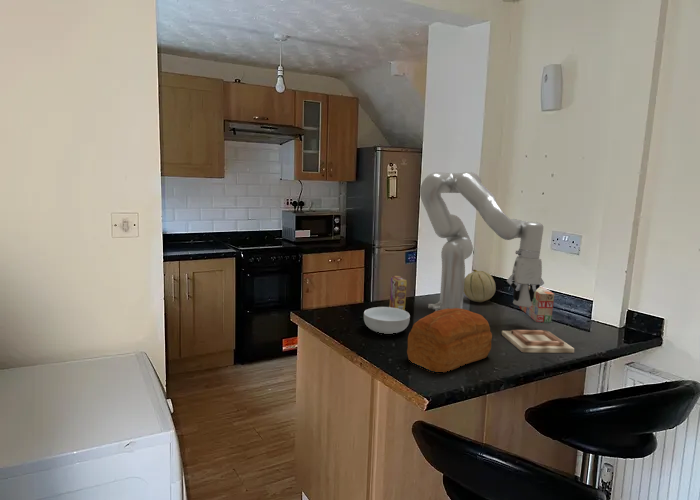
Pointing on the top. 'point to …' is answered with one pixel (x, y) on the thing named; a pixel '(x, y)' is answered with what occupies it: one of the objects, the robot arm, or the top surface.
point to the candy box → (398, 292)
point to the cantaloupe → (479, 286)
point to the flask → (524, 297)
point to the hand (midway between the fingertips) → (522, 299)
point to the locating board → (537, 341)
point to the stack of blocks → (541, 305)
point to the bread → (449, 339)
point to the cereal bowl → (386, 319)
